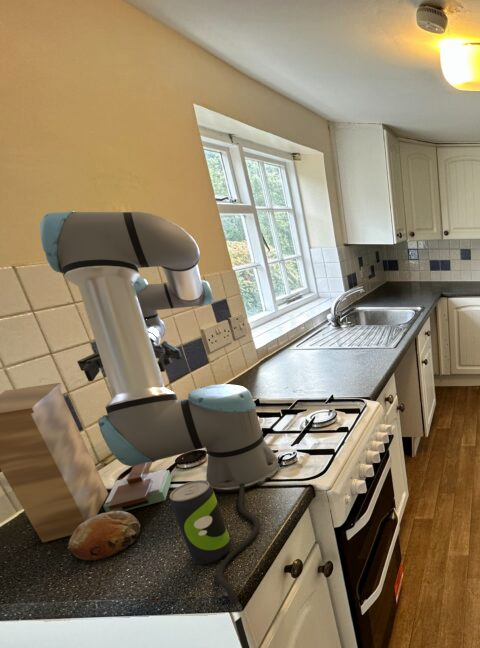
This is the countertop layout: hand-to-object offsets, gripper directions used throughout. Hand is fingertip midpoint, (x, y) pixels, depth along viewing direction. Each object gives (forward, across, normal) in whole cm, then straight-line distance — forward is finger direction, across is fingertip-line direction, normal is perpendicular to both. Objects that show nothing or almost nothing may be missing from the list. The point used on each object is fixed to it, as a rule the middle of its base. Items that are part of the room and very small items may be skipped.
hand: (125, 371), depth 100 cm
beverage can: (+50, -15, -20) cm, 56 cm away
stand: (+23, +11, -23) cm, 34 cm away
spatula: (+18, 0, -20) cm, 27 cm away
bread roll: (+37, +2, -22) cm, 43 cm away
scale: (+21, 0, -23) cm, 31 cm away
